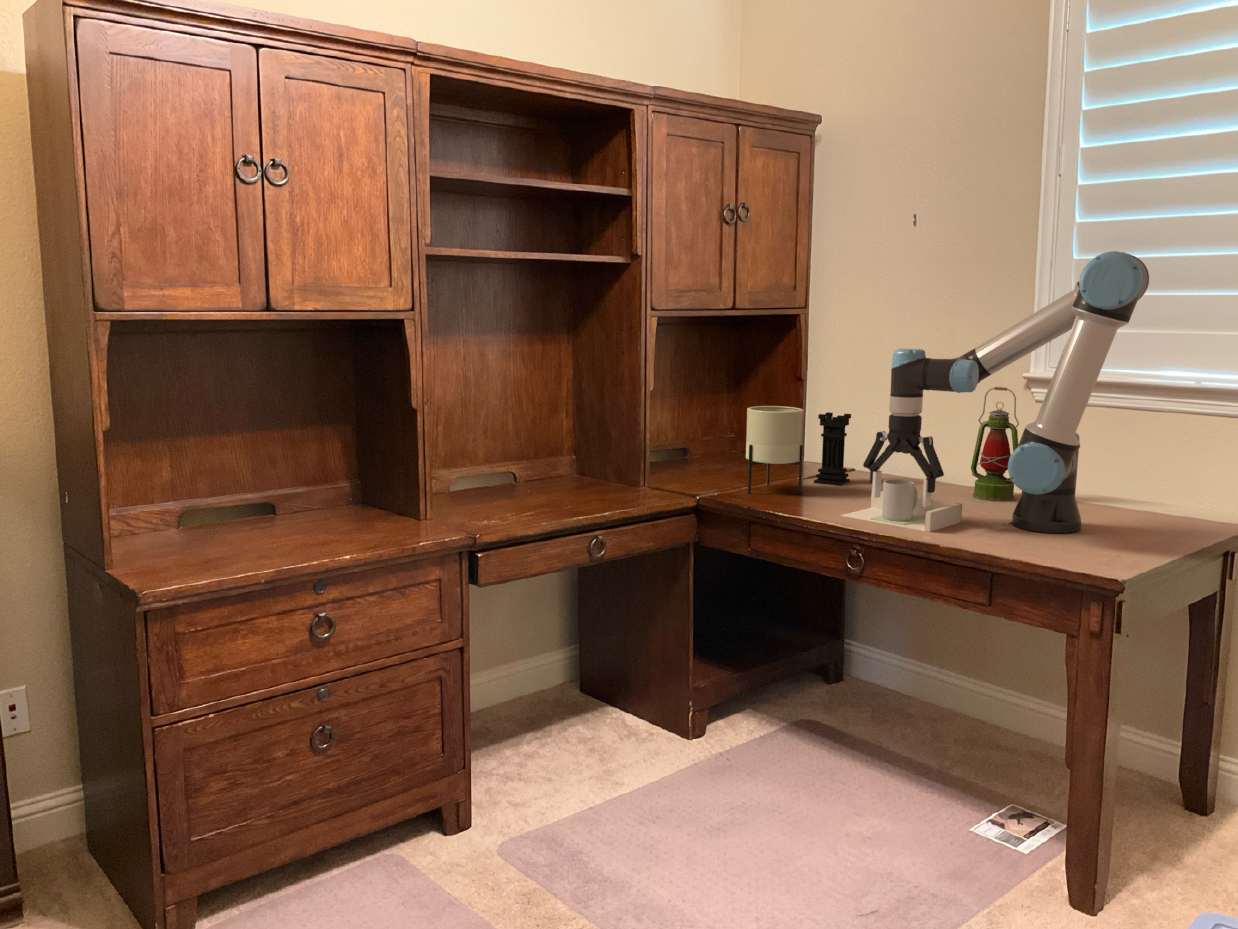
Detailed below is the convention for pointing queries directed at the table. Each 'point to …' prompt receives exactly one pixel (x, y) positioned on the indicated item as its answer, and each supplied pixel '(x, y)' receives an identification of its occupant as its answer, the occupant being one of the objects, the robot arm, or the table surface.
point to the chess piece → (833, 449)
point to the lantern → (995, 455)
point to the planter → (774, 438)
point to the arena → (936, 514)
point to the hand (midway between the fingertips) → (900, 501)
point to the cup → (898, 499)
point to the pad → (914, 519)
